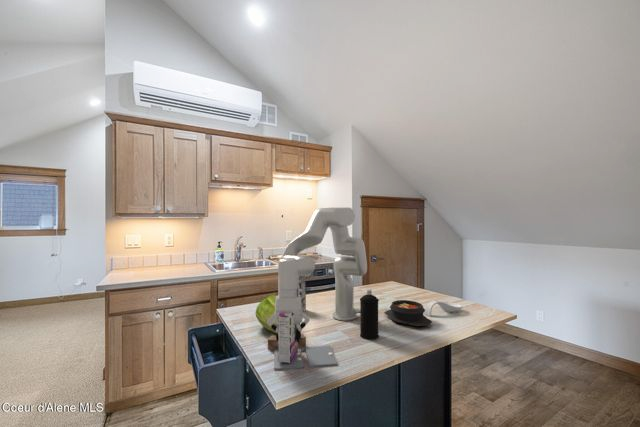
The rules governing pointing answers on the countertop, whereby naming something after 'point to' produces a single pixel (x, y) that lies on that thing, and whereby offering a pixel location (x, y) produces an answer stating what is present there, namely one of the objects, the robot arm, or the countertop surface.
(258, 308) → the lettuce
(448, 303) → the white slipper
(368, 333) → the aerosol can
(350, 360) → the countertop surface
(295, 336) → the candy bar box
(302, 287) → the coffee box
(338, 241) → the robot arm
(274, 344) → the walnut cube
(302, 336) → the walnut cube
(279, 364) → the pad two
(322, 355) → the pad one
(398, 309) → the casserole
